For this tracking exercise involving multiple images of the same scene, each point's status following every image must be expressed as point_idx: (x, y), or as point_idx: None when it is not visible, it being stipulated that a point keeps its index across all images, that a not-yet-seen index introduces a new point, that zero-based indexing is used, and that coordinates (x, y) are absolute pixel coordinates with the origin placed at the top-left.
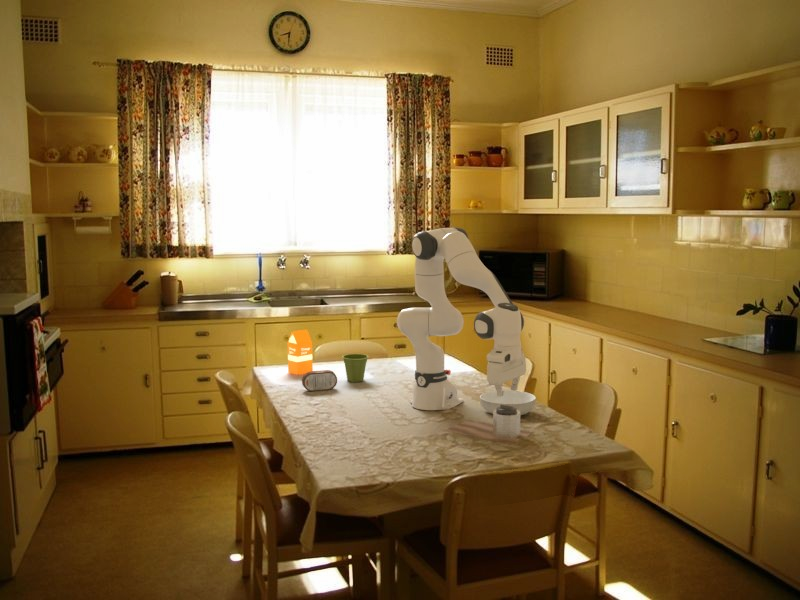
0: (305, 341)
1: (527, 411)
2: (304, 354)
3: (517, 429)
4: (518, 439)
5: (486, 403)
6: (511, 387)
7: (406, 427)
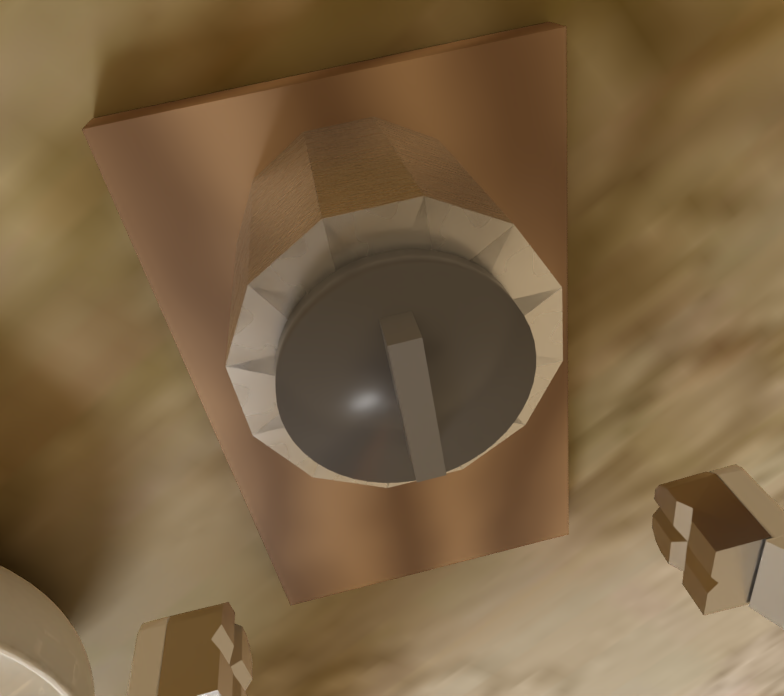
0: None
1: None
2: None
3: (369, 142)
4: (390, 75)
5: None
6: (242, 687)
7: (575, 650)
